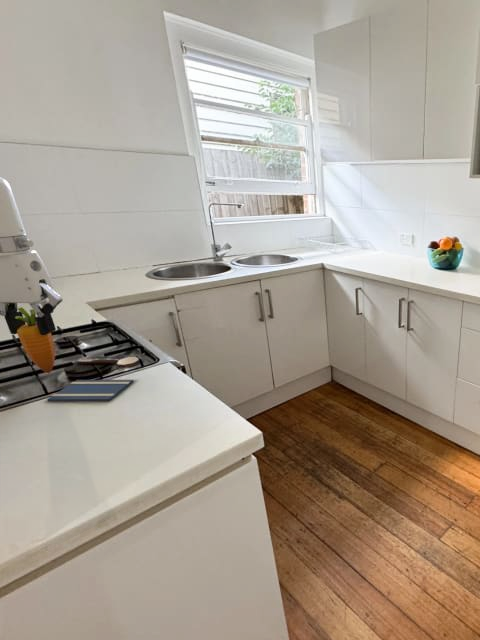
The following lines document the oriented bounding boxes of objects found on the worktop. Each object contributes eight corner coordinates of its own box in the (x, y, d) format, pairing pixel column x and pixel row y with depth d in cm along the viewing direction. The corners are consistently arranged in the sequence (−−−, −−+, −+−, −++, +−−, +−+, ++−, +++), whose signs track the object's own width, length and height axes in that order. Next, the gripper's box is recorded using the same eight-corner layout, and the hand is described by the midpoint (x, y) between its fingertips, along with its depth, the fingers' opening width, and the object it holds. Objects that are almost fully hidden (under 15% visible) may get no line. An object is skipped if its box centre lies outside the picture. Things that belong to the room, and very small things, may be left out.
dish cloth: (47, 401, 77) (46, 398, 77) (77, 381, 84) (76, 379, 84) (109, 401, 78) (108, 398, 78) (133, 381, 85) (133, 379, 85)
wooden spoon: (72, 367, 90) (70, 363, 90) (85, 359, 94) (84, 355, 94) (132, 367, 91) (131, 363, 91) (143, 359, 95) (142, 355, 95)
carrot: (65, 373, 84) (43, 309, 78) (34, 380, 81) (9, 313, 75) (61, 365, 87) (40, 303, 81) (32, 372, 84) (7, 307, 78)
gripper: (64, 243, 77) (89, 327, 84) (-26, 239, 76) (7, 324, 83) (33, 250, 70) (63, 340, 77) (-68, 245, 69) (-28, 337, 76)
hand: (33, 331), depth 80 cm, fingers closed on carrot, 5 cm apart
